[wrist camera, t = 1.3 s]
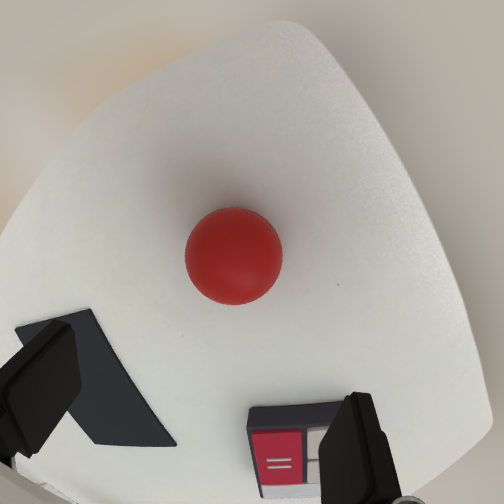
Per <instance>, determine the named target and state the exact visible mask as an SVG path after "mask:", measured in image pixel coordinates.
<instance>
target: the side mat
mask: <svg viewBox="0 0 504 504" xmlns="http://www.w3.org/2000/svg"><path fill="white" fill-rule="evenodd" d="M54 319H59V320H62V321H64V322H67V323H69V324H70V325H71V327H72V329H73V330H74V331H75V338H76V347H77V354H78V361H79V368H80V374H81V380H82V389H81V392H80V393H79V395H78V396H77V397H76V399H75V400H74V402H73V403H72V404H71V406H70V407H69V409H68V410H67V411H68V412H69V413H70V415H71V416H72V417H73V418H74V420H75V421H76V422H77V423H78V425H79V426H80V427H81V428H82V429H83V431H84V432H85V433H86V434H87V435H88V436H89V438H90V439H91V440H92V441H93V442H94V443H95V444H100V445H115V446H138V447H176V446H177V444H176V442H175V441H174V440H173V439H172V437H171V436H170V435H169V433H168V432H167V431H166V429H165V428H164V427H163V425H162V424H161V423H160V421H159V420H158V418H157V417H156V416H155V414H154V413H153V411H152V410H151V409H150V407H149V406H148V404H147V403H146V401H145V400H144V398H143V397H142V395H141V394H140V392H139V391H138V389H137V388H136V386H135V385H134V383H133V382H132V380H131V379H130V377H129V376H128V374H127V372H126V371H125V369H124V368H123V366H122V364H121V363H120V361H119V359H118V358H117V356H116V354H115V353H114V351H113V349H112V347H111V346H110V344H109V342H108V340H107V339H106V337H105V335H104V333H103V332H102V330H101V328H100V326H99V324H98V322H97V320H96V319H95V317H94V315H93V313H92V311H91V309H88V310H84V311H80V312H77V313H73V314H69V315H65V316H61V317H57V318H54ZM54 319H50V320H46V321H42V322H38V323H34V324H30V325H26V326H22V327H18V328H16V329H14V330H15V332H16V334H17V335H18V337H19V339H20V341H21V342H22V344H23V346H25V345H26V344H27V343H28V342H29V341H30V340H31V339H32V338H33V337H35V336H36V335H37V334H38V333H39V332H40V331H41V330H42V329H43V328H45V327H46V326H47V325H48V324H49V323H50V322H51V321H53V320H54Z"/></svg>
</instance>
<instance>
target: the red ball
mask: <svg viewBox="0 0 504 504" xmlns="http://www.w3.org/2000/svg"><path fill="white" fill-rule="evenodd" d="M282 256H283V255H282V247H281V243H280V240H279V237H278V235H277V233H276V231H275V230H274V228H273V227H272V226H271V224H270V223H269V222H268V221H267V220H266V219H264V218H263V217H262V216H260V215H259V214H257V213H255V212H253V211H251V210H247V209H243V208H224V209H220V210H217V211H214V212H212V213H210V214H209V215H207V216H206V217H204V218H203V219H202V220H201V221H200V222H199V223H198V224H197V225H196V226H195V227H194V229H193V230H192V232H191V234H190V236H189V238H188V241H187V244H186V249H185V263H186V268H187V272H188V275H189V277H190V279H191V281H192V282H193V284H194V285H195V287H196V288H197V289H198V290H199V291H200V292H201V293H202V294H203V295H205V296H206V297H208V298H209V299H211V300H213V301H215V302H218V303H221V304H226V305H241V304H246V303H249V302H252V301H254V300H256V299H258V298H260V297H261V296H263V295H264V294H265V293H266V292H268V291H269V289H270V288H271V287H272V286H273V284H274V283H275V281H276V280H277V278H278V276H279V273H280V270H281V265H282Z"/></svg>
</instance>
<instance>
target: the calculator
mask: <svg viewBox="0 0 504 504" xmlns="http://www.w3.org/2000/svg"><path fill="white" fill-rule="evenodd" d="M342 402H343V401H341V402H332V403H322V404H310V405H297V406H279V407H253V408H250V409H249V414H248V421H247V435H248V440H249V445H250V450H251V455H252V460H253V464H254V469H255V474H256V479H257V483H258V488H259V493H260V497H261V498H264V499H295V498H311V497H321V488H320V472H319V457H318V448H319V444H320V442H321V440H322V439H323V437H324V435H325V433H326V432H327V430H328V428H329V426H330V425H331V423H332V421H333V419H334V417H335V415H336V414H337V412H338V410H339V408H340V406H341V404H342Z"/></svg>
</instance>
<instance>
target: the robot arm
mask: <svg viewBox="0 0 504 504" xmlns="http://www.w3.org/2000/svg"><path fill="white" fill-rule="evenodd" d="M81 389H82V380H81V374H80V368H79V361H78V354H77V347H76V338H75V331H74V330H73V329H72V327H71V325H70V324H69V323H67V322H64V321H62V320H59V319H54V320H53V321H51V322H50V323H49V324H48V325H47V326H46V327H45V328H43V329H42V330H41V331H40V332H39V333H38V334H37V335H36V336H35V337H33V338H32V339H31V340H30V341H29V342H28V343H27V344H26V345H25V346H24V347H23V348H21V349H20V350H19V351H18V352H17V353H16V354H15V355H14V356H13V357H12V358H11V359H10V360H9V361H8V362H7V363H6V364H4V365H3V366H2V367H1V368H0V504H73V503H71V502H69V501H67V500H65V499H63V498H61V497H59V496H57V495H55V494H53V493H51V492H49V491H48V490H46V489H44V488H42V487H40V486H39V485H37V484H35V483H34V482H32V481H30V480H29V479H27V478H25V477H24V476H22V475H20V474H19V473H17V468H16V462H15V454H16V453H17V452H19V453H21V454H22V455H24V456H26V457H27V458H29V459H30V457H31V456H32V454H33V453H34V454H36V453H38V452H39V450H40V449H41V447H42V446H43V444H44V443H45V441H46V440H47V439H48V437H49V436H50V434H51V433H52V431H53V430H54V428H55V427H56V426H57V424H58V423H59V421H60V420H61V418H62V417H63V416H64V414H65V413H66V411H67V410H68V409H69V407H70V406H71V404H72V403H73V402H74V400H75V399H76V397H77V396H78V395H79V393H80V392H81ZM318 457H319V472H320V488H321V504H425V503H424V502H423V501H422V500H420V499H419V498H416V497H414V496H403V497H402V494H401V489H400V485H399V481H398V477H397V473H396V469H395V466H394V462H393V458H392V454H391V451H390V447H389V443H388V440H387V437H386V434H385V433H384V432H383V431H381V428H380V424H379V421H378V417H377V414H376V410H375V407H374V403H373V400H372V397H371V395H370V394H369V393H361V392H353V393H352V394H351V395H350V396H349V395H347V396H346V397H345V398H344V400H343V402H342V404H341V406H340V408H339V410H338V412H337V414H336V415H335V417H334V419H333V421H332V423H331V425H330V426H329V428H328V430H327V432H326V433H325V435H324V437H323V439H322V440H321V442H320V444H319V448H318Z"/></svg>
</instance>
